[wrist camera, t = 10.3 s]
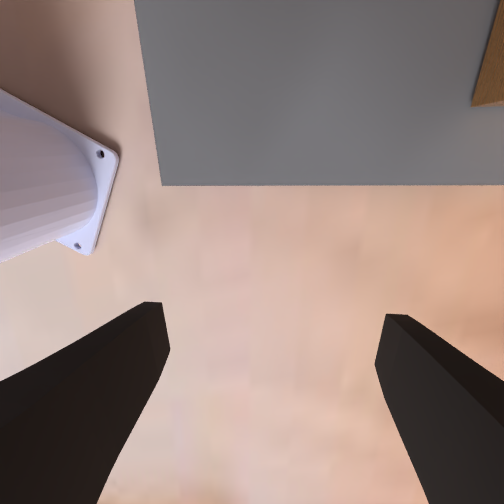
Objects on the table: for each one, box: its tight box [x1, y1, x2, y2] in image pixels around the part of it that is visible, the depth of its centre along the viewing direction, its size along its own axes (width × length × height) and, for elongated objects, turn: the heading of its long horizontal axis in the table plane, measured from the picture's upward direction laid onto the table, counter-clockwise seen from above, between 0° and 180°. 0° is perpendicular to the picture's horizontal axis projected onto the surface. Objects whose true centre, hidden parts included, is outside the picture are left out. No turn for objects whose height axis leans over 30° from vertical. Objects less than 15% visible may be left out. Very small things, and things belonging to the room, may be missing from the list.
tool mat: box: [134, 0, 504, 186], centre depth 10 cm, size 24×12×6 cm, turn 91°
